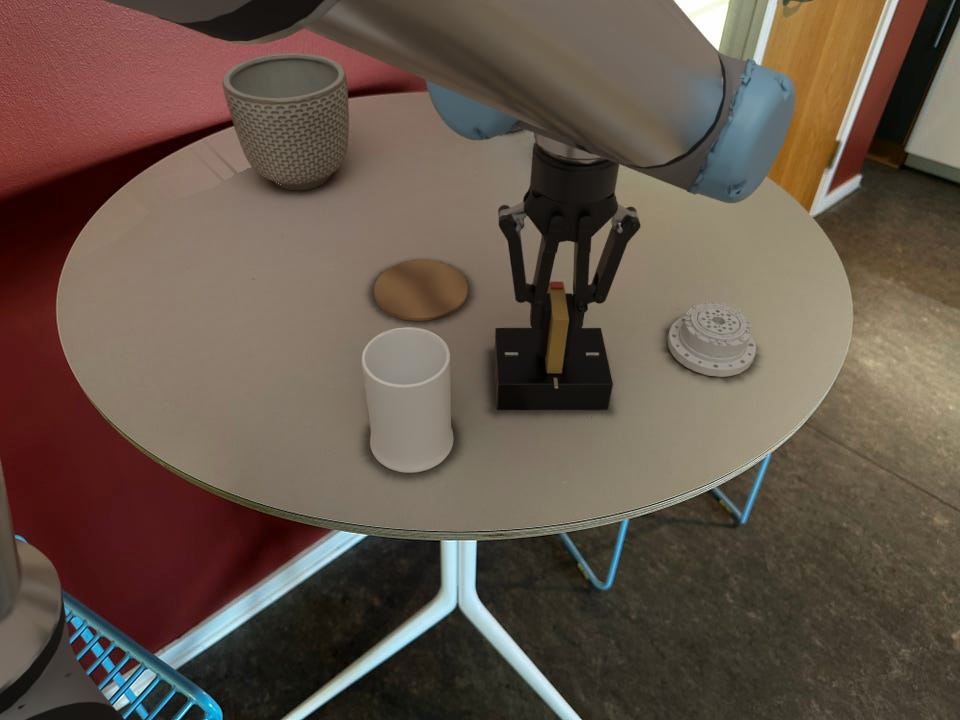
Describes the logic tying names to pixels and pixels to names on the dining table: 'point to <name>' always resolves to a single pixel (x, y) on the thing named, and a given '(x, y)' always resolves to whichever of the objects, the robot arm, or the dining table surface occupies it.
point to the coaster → (420, 290)
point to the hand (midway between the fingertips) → (552, 348)
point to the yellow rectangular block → (557, 328)
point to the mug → (408, 398)
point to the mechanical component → (713, 340)
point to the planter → (290, 116)
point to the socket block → (535, 389)
